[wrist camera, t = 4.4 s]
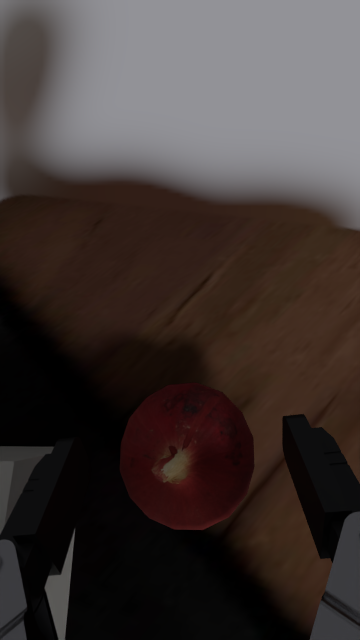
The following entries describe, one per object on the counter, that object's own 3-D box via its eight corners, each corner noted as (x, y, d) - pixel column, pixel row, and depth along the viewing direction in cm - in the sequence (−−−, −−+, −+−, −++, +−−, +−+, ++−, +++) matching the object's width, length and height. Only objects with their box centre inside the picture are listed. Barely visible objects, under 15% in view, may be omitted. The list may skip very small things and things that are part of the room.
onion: (164, 376, 18) (127, 346, 11) (258, 410, 17) (292, 403, 9) (127, 477, 17) (52, 524, 9) (227, 522, 15) (238, 620, 8)
